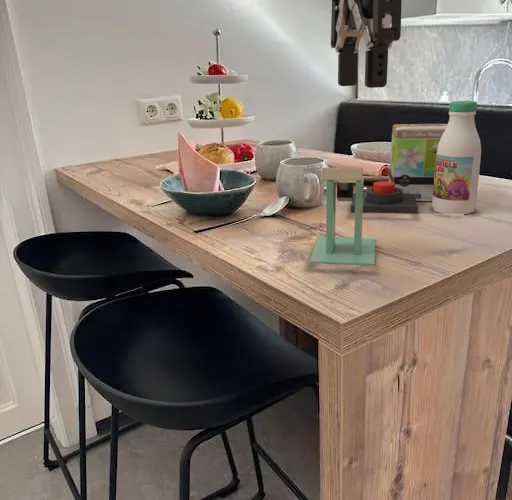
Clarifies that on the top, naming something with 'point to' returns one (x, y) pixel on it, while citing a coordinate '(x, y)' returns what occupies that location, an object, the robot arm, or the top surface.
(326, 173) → the switch lever
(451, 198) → the milk bottle
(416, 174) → the tea box
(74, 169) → the top surface
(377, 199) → the button box
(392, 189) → the red button
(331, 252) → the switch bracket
